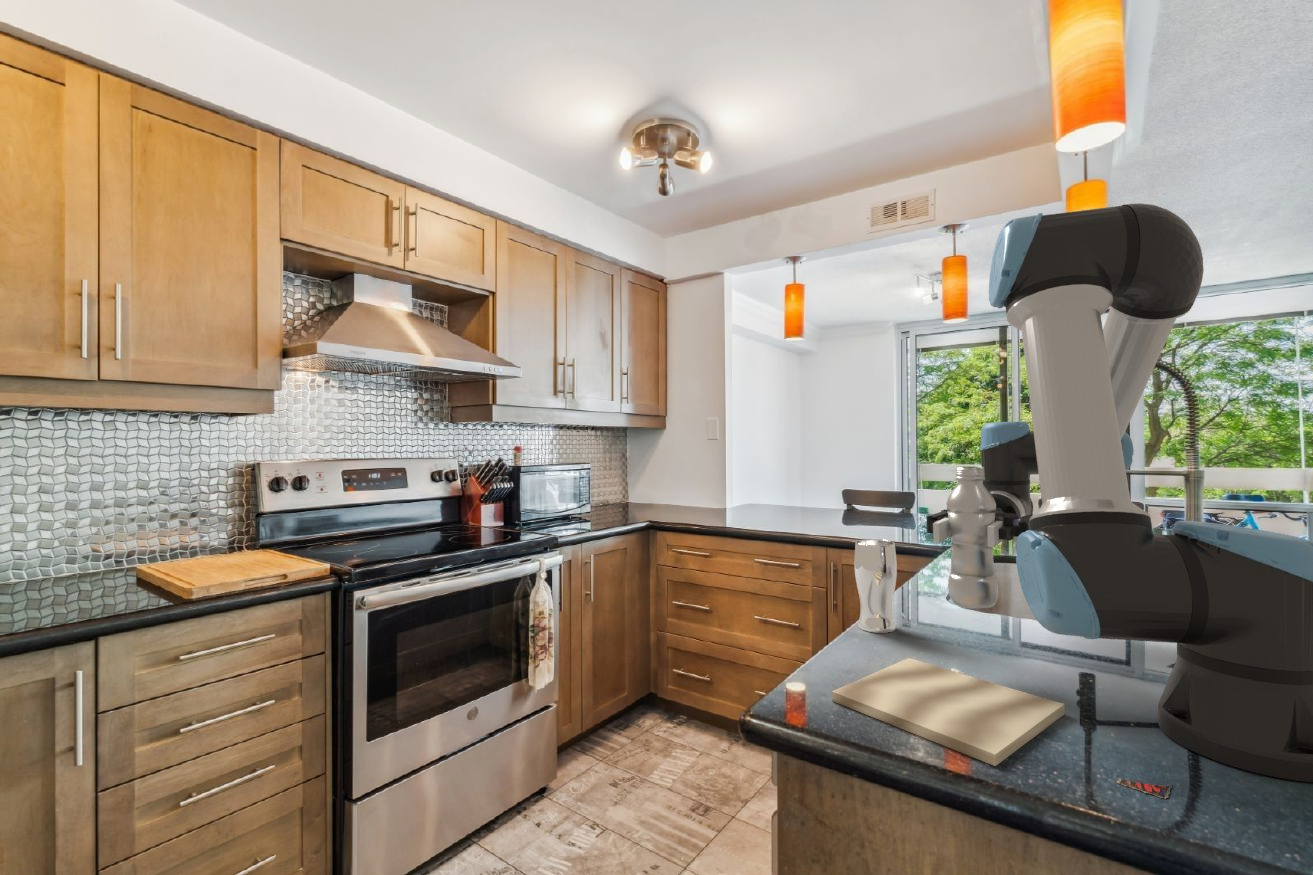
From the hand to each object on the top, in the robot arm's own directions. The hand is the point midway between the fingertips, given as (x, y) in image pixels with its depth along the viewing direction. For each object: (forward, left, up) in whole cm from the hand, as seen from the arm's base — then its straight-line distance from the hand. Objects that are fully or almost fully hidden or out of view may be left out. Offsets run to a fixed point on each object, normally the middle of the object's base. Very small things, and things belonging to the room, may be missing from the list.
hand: (962, 535), depth 83 cm
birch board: (-2, +10, -20) cm, 22 cm away
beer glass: (+21, -11, -20) cm, 31 cm away
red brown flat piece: (-22, +11, -21) cm, 32 cm away
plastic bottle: (+1, -5, -11) cm, 12 cm away
